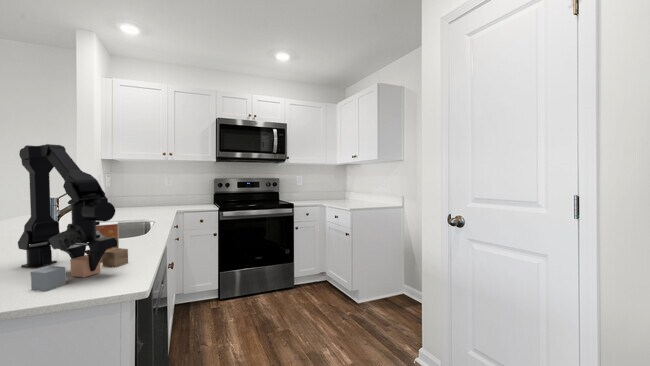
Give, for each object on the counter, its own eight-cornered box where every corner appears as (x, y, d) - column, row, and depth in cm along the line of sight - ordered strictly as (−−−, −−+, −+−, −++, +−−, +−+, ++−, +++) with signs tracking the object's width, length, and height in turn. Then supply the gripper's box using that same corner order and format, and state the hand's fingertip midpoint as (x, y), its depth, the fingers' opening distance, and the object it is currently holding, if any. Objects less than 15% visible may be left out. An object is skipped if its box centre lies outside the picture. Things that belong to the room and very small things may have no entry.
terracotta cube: (70, 275, 90) (70, 259, 90) (87, 270, 95) (87, 254, 95) (84, 277, 89) (83, 260, 89) (100, 271, 94) (99, 255, 94)
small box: (90, 263, 103) (89, 225, 102) (92, 259, 108) (90, 223, 108) (119, 259, 107) (118, 223, 107) (119, 255, 113) (118, 221, 112)
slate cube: (31, 290, 81) (30, 271, 80) (52, 283, 85) (51, 265, 85) (45, 291, 79) (44, 273, 79) (66, 284, 84) (65, 267, 84)
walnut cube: (102, 266, 100) (102, 251, 100) (116, 262, 105) (115, 248, 105) (115, 267, 99) (114, 252, 99) (128, 263, 104) (127, 248, 103)
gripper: (29, 222, 86) (31, 277, 86) (81, 225, 81) (83, 282, 82) (70, 216, 97) (72, 265, 97) (118, 218, 92) (119, 269, 93)
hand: (85, 270), depth 92 cm, fingers closed on terracotta cube, 5 cm apart
